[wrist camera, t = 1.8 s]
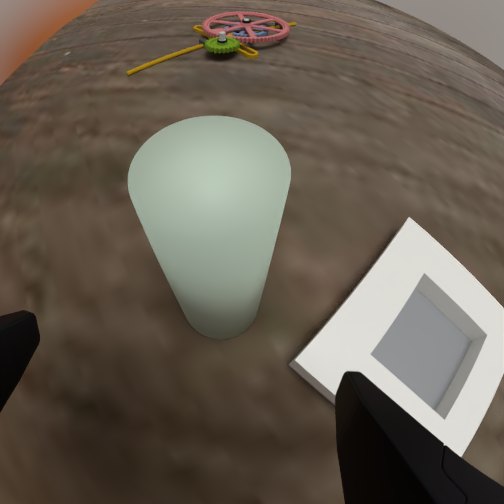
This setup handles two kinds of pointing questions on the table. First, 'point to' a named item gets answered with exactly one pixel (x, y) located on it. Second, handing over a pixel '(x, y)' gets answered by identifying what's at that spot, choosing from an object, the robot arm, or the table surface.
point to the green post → (212, 215)
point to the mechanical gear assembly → (231, 36)
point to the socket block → (415, 338)
